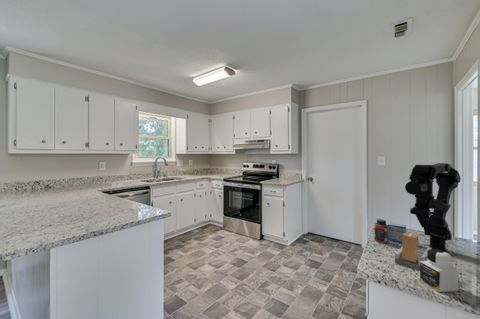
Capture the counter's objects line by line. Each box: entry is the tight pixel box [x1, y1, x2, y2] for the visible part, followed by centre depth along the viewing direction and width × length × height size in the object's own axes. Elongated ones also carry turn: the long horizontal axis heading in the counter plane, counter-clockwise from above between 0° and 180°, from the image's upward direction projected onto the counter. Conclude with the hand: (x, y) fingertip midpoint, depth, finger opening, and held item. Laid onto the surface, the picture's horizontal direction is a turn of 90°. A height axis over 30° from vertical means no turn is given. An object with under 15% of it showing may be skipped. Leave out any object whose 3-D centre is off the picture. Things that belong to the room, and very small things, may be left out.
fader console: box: [394, 246, 432, 271], centre depth 94 cm, size 19×9×4 cm, turn 130°
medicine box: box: [387, 222, 407, 244], centre depth 115 cm, size 8×4×9 cm, turn 55°
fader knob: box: [401, 232, 419, 263], centre depth 90 cm, size 4×4×10 cm
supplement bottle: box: [374, 218, 389, 244], centre depth 114 cm, size 6×6×11 cm
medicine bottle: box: [419, 249, 459, 293], centre depth 75 cm, size 7×7×12 cm
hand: (423, 227), depth 97 cm, fingers closed
